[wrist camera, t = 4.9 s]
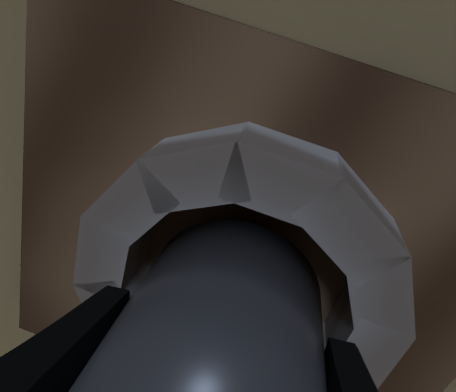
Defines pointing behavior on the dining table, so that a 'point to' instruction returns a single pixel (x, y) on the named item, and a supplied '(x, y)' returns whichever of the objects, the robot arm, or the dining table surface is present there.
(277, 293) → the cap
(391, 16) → the dining table surface
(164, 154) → the collar
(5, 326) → the dining table surface
